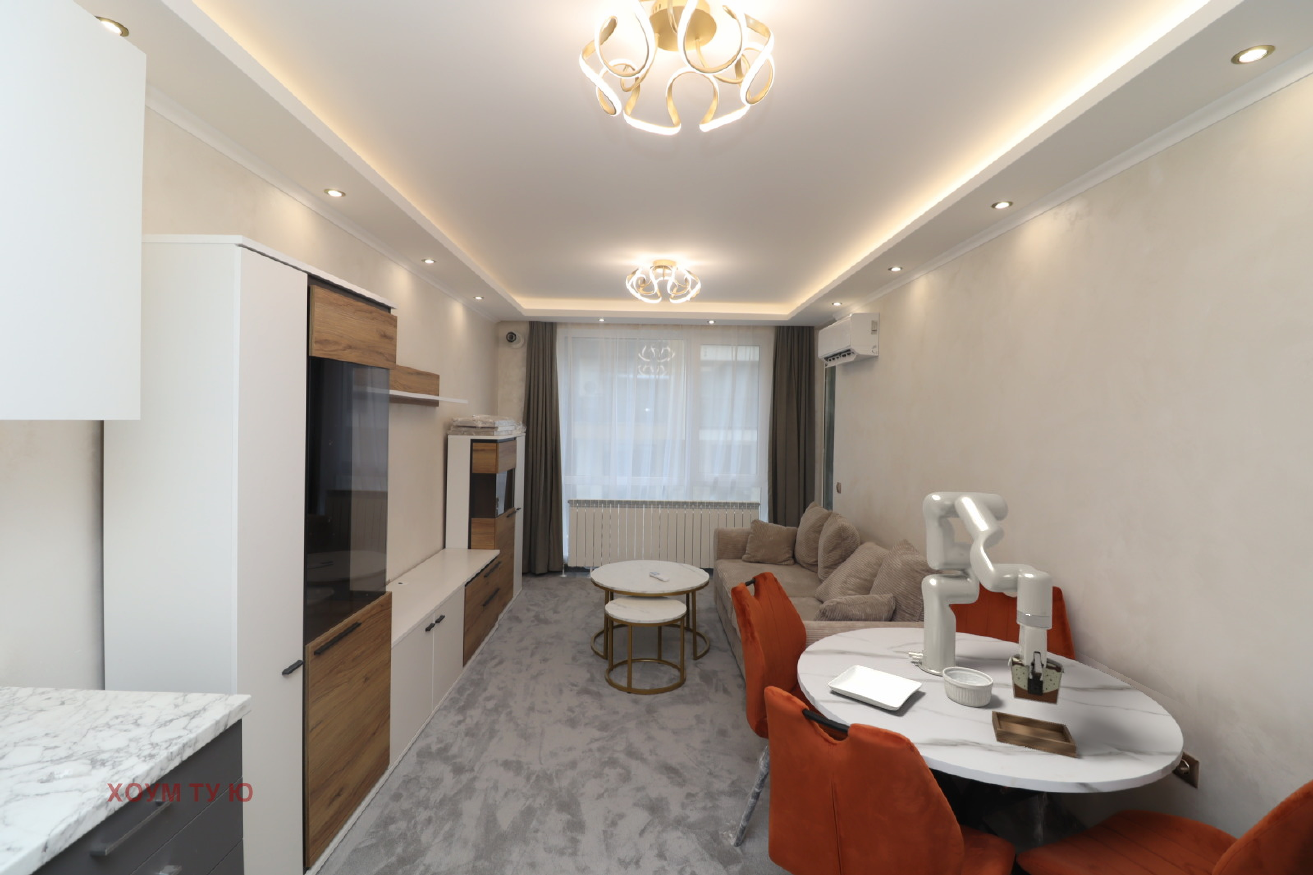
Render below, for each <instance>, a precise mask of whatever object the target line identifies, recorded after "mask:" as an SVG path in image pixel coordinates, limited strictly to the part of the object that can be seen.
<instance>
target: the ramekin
mask: <svg viewBox="0 0 1313 875" xmlns="http://www.w3.org/2000/svg"><path fill="white" fill-rule="evenodd" d="M942 678H943V685H944V692H945V694H946V696H947V697H948V698H949V699H950V700H951V701H953V702H955V703H957V704H959V705H963V706H967V707H973V708H981V707H986V706H988V704H989V703H990V701H991V698H992V697H991V696H992V692H993V686H994V680H993V678H992V677H991V676H990V675H988V674H986V673H984V672H982V671H979V670H976V669H972V668H967V667H961V666H958V667H949V668H946V669H944V670H943V676H942Z"/></svg>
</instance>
